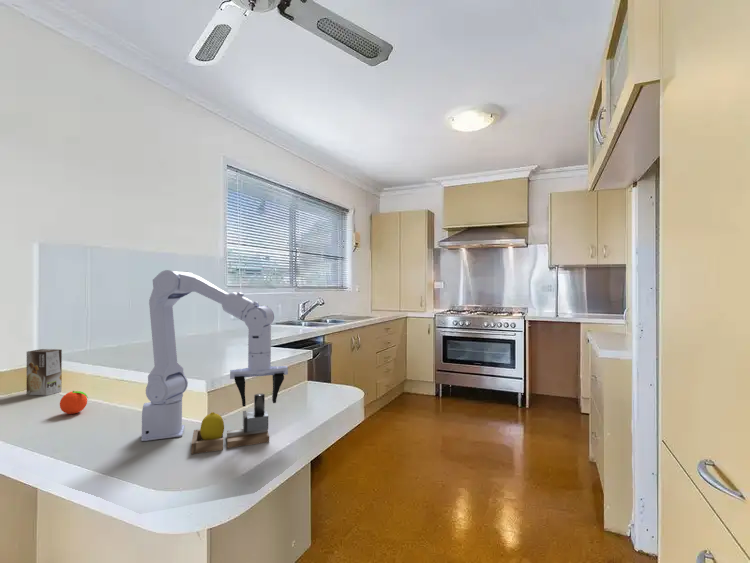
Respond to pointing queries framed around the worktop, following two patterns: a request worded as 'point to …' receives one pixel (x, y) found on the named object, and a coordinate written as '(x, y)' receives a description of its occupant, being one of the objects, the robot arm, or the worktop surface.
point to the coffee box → (44, 371)
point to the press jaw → (256, 416)
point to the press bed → (246, 437)
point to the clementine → (73, 402)
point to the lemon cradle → (205, 444)
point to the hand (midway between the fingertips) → (259, 403)
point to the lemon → (212, 427)
